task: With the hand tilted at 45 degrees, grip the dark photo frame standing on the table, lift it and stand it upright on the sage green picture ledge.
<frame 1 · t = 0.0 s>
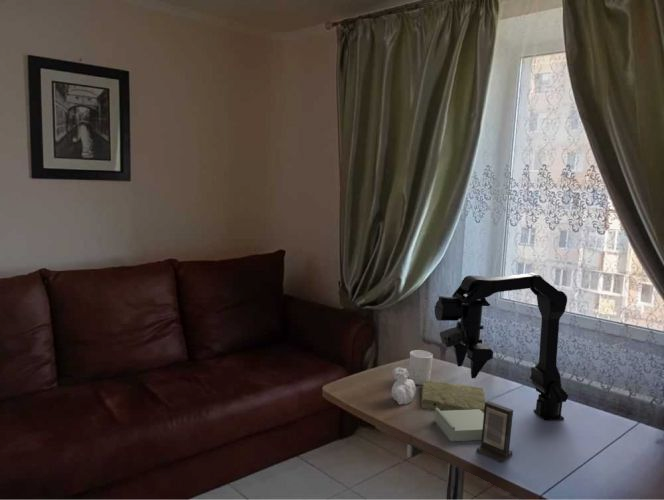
hand: (466, 372, 153), 15 cm above the table, tool pointing down, fingers open, 9 cm apart
decorative tile: (452, 404, 168), on the table
bust: (401, 400, 167), on the table
picture ledge: (465, 429, 149), on the table
dark photo frame: (494, 453, 137), on the table
white cup: (419, 381, 183), on the table
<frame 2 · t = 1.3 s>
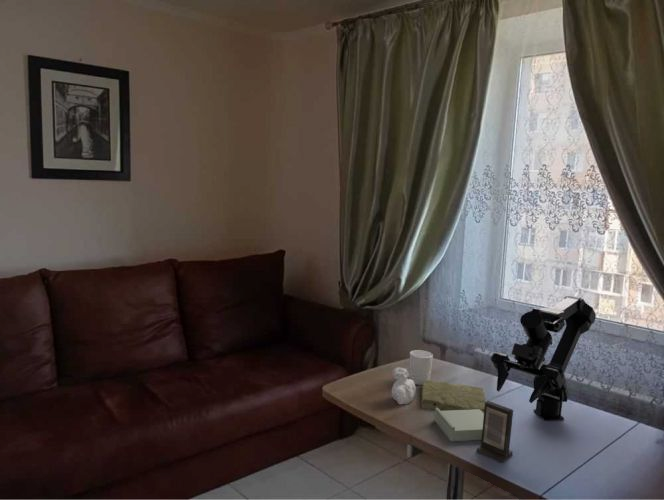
hand: (513, 396, 141), 13 cm above the table, tool tilted 45°, fingers open, 9 cm apart
nothing on the table moved.
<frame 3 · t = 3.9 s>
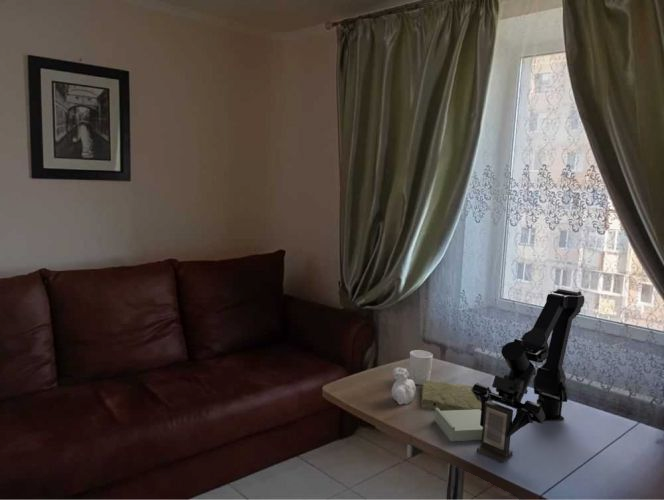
hand: (493, 430, 135), 7 cm above the table, tool tilted 45°, fingers closed on dark photo frame, 7 cm apart
dark photo frame: (494, 453, 137), on the table, touching gripper
everything else where it was.
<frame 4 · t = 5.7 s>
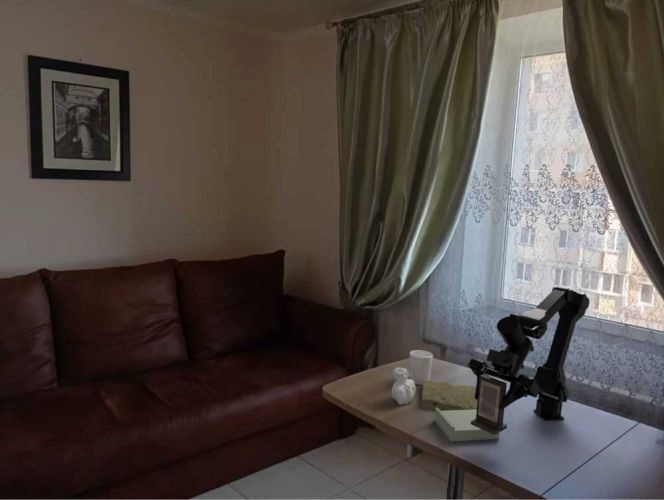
hand: (487, 403, 136), 13 cm above the table, tool tilted 45°, fingers closed on dark photo frame, 7 cm apart
dark photo frame: (488, 426, 138), point 6 cm above the table, touching gripper
everything else where it was.
when the fingers open (11 cm above the table, at t = 7.5 s): dark photo frame drops 1 cm, resting on picture ledge.
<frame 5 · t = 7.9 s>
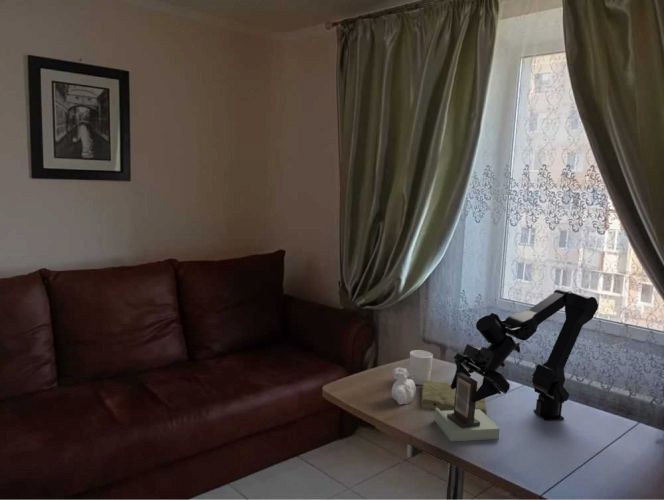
hand: (461, 394, 146), 11 cm above the table, tool tilted 45°, fingers open, 9 cm apart
dark photo frame: (463, 421, 148), point 3 cm above the table, touching picture ledge
everything else where it was.
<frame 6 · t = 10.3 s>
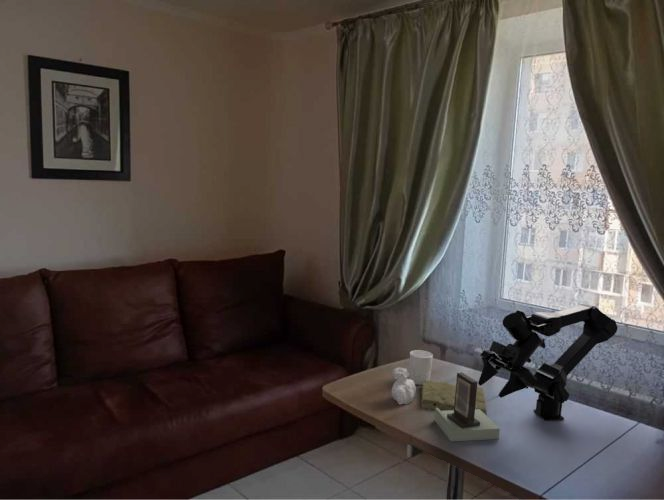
hand: (489, 390, 150), 11 cm above the table, tool tilted 45°, fingers open, 9 cm apart
nothing on the table moved.
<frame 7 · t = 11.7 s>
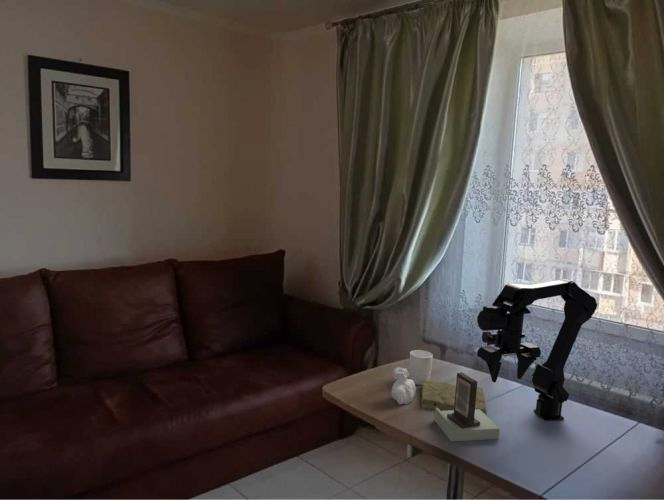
hand: (506, 380, 153), 13 cm above the table, tool pointing down, fingers open, 9 cm apart
nothing on the table moved.
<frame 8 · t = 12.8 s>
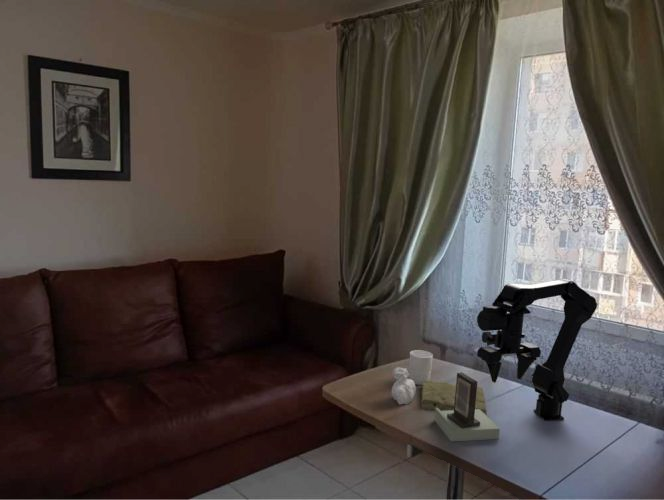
hand: (506, 380, 153), 13 cm above the table, tool pointing down, fingers open, 9 cm apart
nothing on the table moved.
at the end: dark photo frame inside the target area (0.5 cm from its centre), point 3.0 cm above the table; dark photo frame tilted 0°; dark photo frame touching picture ledge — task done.
